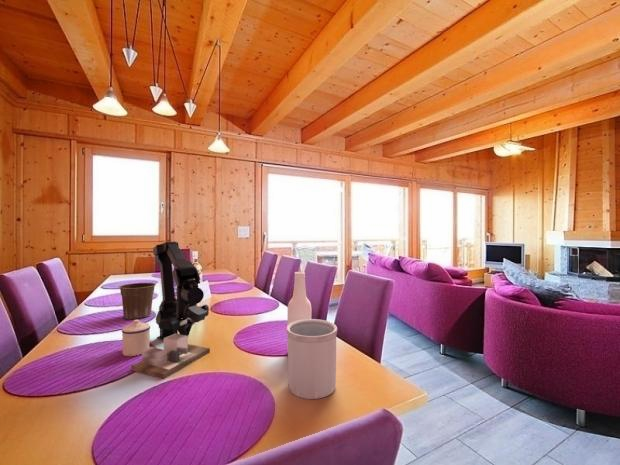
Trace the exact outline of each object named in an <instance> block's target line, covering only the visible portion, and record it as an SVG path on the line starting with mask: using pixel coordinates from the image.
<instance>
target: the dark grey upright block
mask: <svg viewBox="0 0 620 465" xmlns="http://www.w3.org/2000/svg"><path fill="white" fill-rule="evenodd" d="M169 361H172V362H178V361H179V351H174V350H172V351H170V352H169Z"/></svg>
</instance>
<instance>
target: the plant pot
mask: <svg viewBox="0 0 620 465" xmlns="http://www.w3.org/2000/svg"><path fill="white" fill-rule="evenodd" d="M155 286H156V283H154V282H135V283H134V282H133V283H127V284H126V283H125V284H121V285H119V286H118V288H119V289H120V295H121V300H122V313H123V314H122V315H123V318H124V319H125V318H126V320H136V319H139V318H140V319H144V318H143V317H145V318H147V317H146V316H148V317H150V316H152V307H153V298H154V297H153V296H154V292H155ZM149 315H150V316H149Z"/></svg>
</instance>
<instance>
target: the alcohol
mask: <svg viewBox="0 0 620 465" xmlns="http://www.w3.org/2000/svg"><path fill="white" fill-rule="evenodd" d="M293 282H294V284H293V293H292V294H293V295H292V297H291V298H290V300H289V302H288V304H287V322H286V323H287V326H288V325H289V324H290V323H292V322H295V321H298V320H305V319H312V311H313V310H312V304H311V301H310V300H309V298H308V297H307V288H306V272H304V271H295V272H294V281H293ZM287 326H286V327H287ZM286 335H287V334H286ZM286 343H287V345H286V346H287V347H286V348H287V349H286V352H287V353H288V335H287V341H286Z"/></svg>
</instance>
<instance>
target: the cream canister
mask: <svg viewBox="0 0 620 465" xmlns="http://www.w3.org/2000/svg"><path fill="white" fill-rule="evenodd" d="M150 329H151V325H150V324H149V323H146V322H142V321H140V319H133V322H131V323H130V324H128V325H126V326H124V327H123V328H122V330H121V333H122V335H121V336H122V355H123V356H126V357H135V356H136V355H137V356H140V354H141V355H142V351H143V350H145V349H148V348H150V347H151V346H150V344H151V342H150V339H151V337H150V336H151V335H150V331H151V330H150Z"/></svg>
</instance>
